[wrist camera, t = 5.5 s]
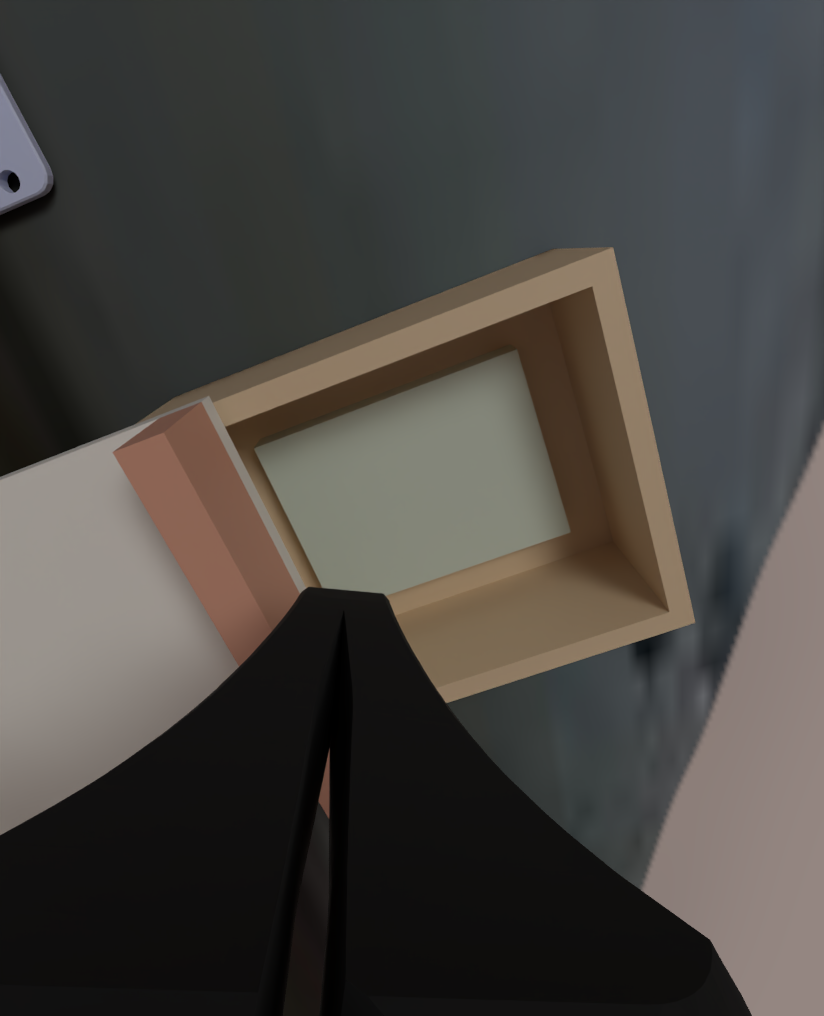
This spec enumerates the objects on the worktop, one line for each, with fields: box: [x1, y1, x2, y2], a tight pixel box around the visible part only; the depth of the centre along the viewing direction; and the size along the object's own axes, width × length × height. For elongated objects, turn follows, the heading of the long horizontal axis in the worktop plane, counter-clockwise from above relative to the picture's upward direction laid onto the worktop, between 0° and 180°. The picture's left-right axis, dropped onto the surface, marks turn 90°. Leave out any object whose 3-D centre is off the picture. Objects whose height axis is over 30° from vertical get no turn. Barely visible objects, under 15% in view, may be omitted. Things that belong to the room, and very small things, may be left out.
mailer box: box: [136, 247, 695, 703], centre depth 18 cm, size 12×10×5 cm
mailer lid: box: [0, 396, 330, 835], centre depth 15 cm, size 12×10×3 cm
